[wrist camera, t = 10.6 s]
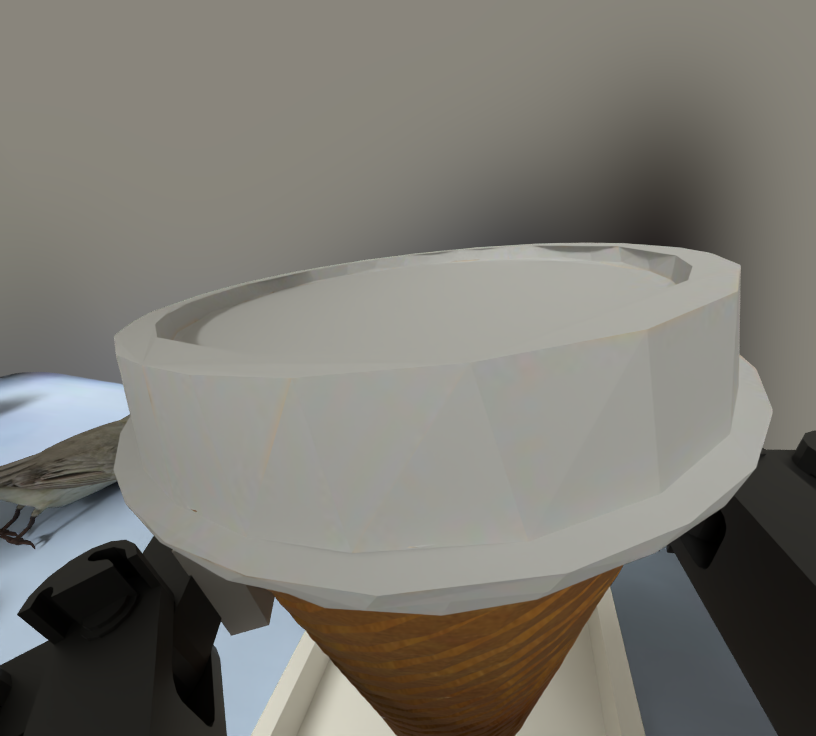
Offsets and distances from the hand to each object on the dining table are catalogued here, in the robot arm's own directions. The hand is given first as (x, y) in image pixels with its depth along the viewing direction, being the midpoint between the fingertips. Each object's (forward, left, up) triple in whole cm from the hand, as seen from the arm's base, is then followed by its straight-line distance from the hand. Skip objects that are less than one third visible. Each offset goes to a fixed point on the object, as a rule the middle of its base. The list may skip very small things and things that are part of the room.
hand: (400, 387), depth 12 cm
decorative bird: (+2, +35, -16) cm, 39 cm away
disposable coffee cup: (-4, -2, -7) cm, 9 cm away
